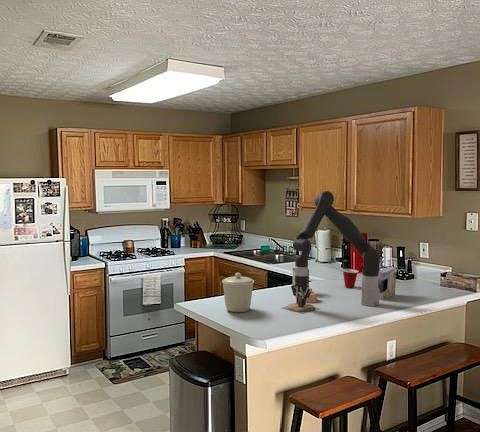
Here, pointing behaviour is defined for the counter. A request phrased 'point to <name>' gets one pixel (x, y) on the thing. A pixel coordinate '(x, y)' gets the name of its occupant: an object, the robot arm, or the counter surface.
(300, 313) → the rubber mat
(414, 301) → the counter surface
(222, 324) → the counter surface
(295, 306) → the walnut lid
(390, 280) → the cake pan box
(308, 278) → the coffee box
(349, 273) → the plastic cup
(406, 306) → the counter surface
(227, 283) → the canister
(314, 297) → the terracotta bowl
